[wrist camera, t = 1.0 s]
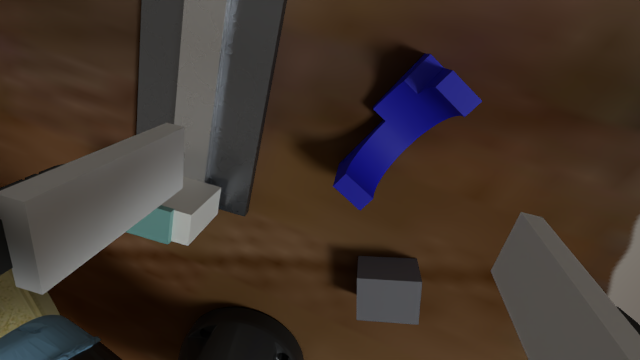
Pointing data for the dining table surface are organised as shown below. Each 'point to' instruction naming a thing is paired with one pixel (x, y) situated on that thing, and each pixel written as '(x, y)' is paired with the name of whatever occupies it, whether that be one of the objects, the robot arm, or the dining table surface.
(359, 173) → the cable clip
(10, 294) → the yellow and brown statuette
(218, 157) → the rail
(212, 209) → the mounted modules
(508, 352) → the dining table surface
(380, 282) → the block
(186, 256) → the dining table surface
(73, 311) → the dining table surface
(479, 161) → the dining table surface
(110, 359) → the robot arm
